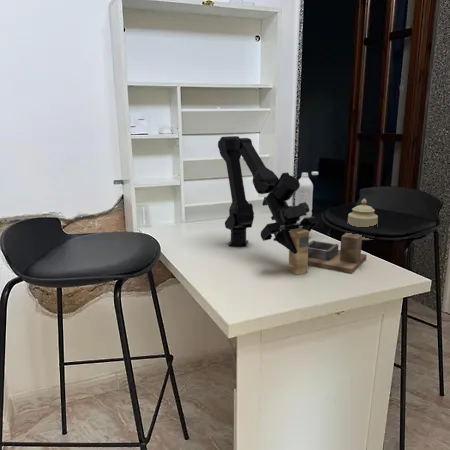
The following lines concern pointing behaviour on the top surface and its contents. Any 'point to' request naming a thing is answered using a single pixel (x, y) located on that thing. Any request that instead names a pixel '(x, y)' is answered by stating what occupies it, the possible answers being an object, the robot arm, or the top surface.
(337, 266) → the wooden fixture board
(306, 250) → the beige block
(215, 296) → the top surface
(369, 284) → the top surface
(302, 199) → the water bottle
